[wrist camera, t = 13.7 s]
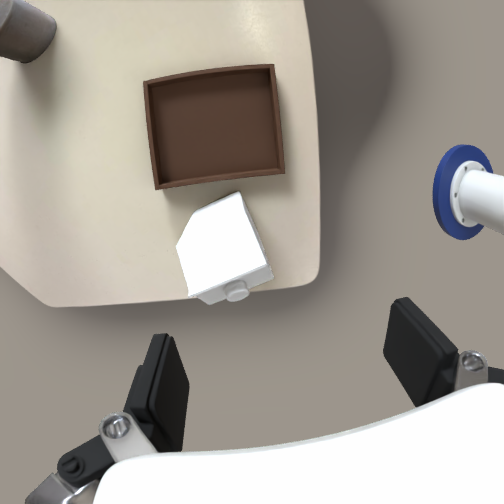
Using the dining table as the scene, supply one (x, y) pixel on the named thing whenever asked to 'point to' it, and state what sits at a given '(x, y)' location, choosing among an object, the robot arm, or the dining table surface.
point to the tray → (214, 125)
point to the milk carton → (222, 252)
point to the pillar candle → (24, 31)
